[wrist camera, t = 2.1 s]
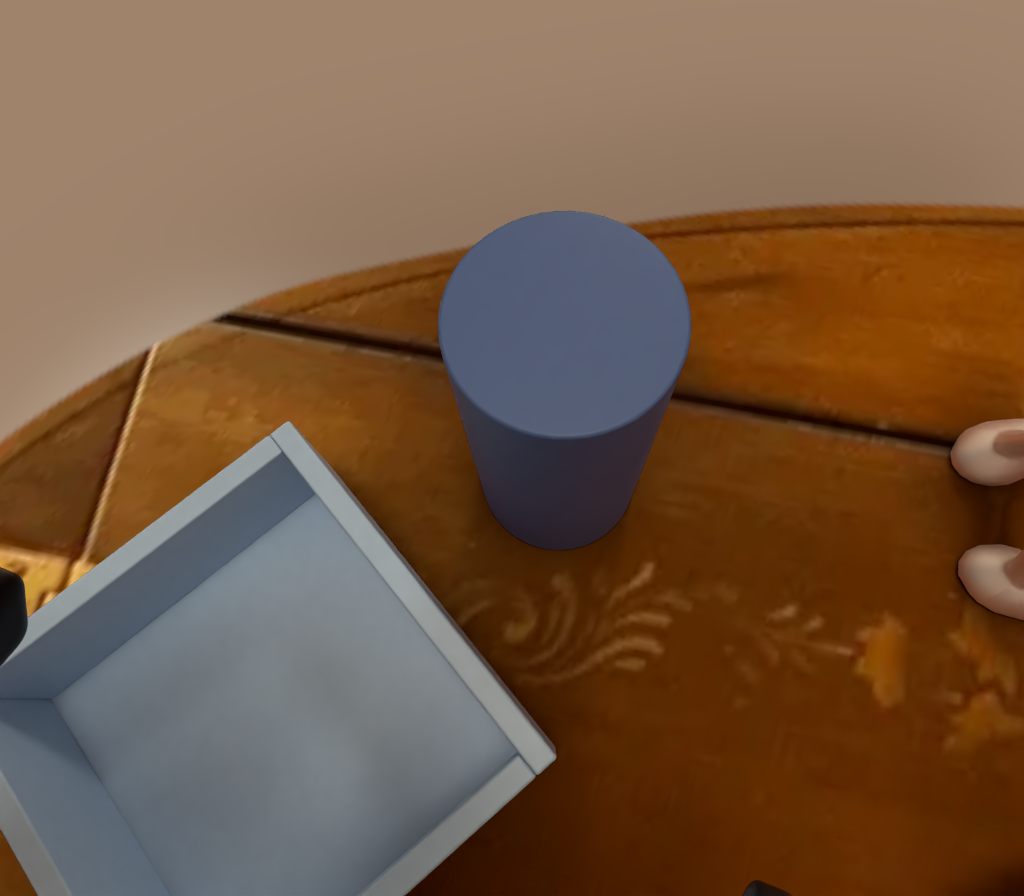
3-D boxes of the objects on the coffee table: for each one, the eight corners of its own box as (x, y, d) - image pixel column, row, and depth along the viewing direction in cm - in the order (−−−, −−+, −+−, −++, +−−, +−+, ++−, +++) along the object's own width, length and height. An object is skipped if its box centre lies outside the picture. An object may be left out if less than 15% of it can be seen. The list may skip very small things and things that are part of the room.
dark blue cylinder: (549, 582, 22) (550, 492, 13) (452, 468, 24) (386, 307, 14) (665, 484, 23) (746, 329, 14) (565, 377, 24) (575, 166, 15)
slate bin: (237, 1035, 19) (159, 1117, 16) (33, 697, 22) (-77, 695, 18) (556, 747, 21) (558, 757, 17) (331, 466, 24) (288, 418, 20)
